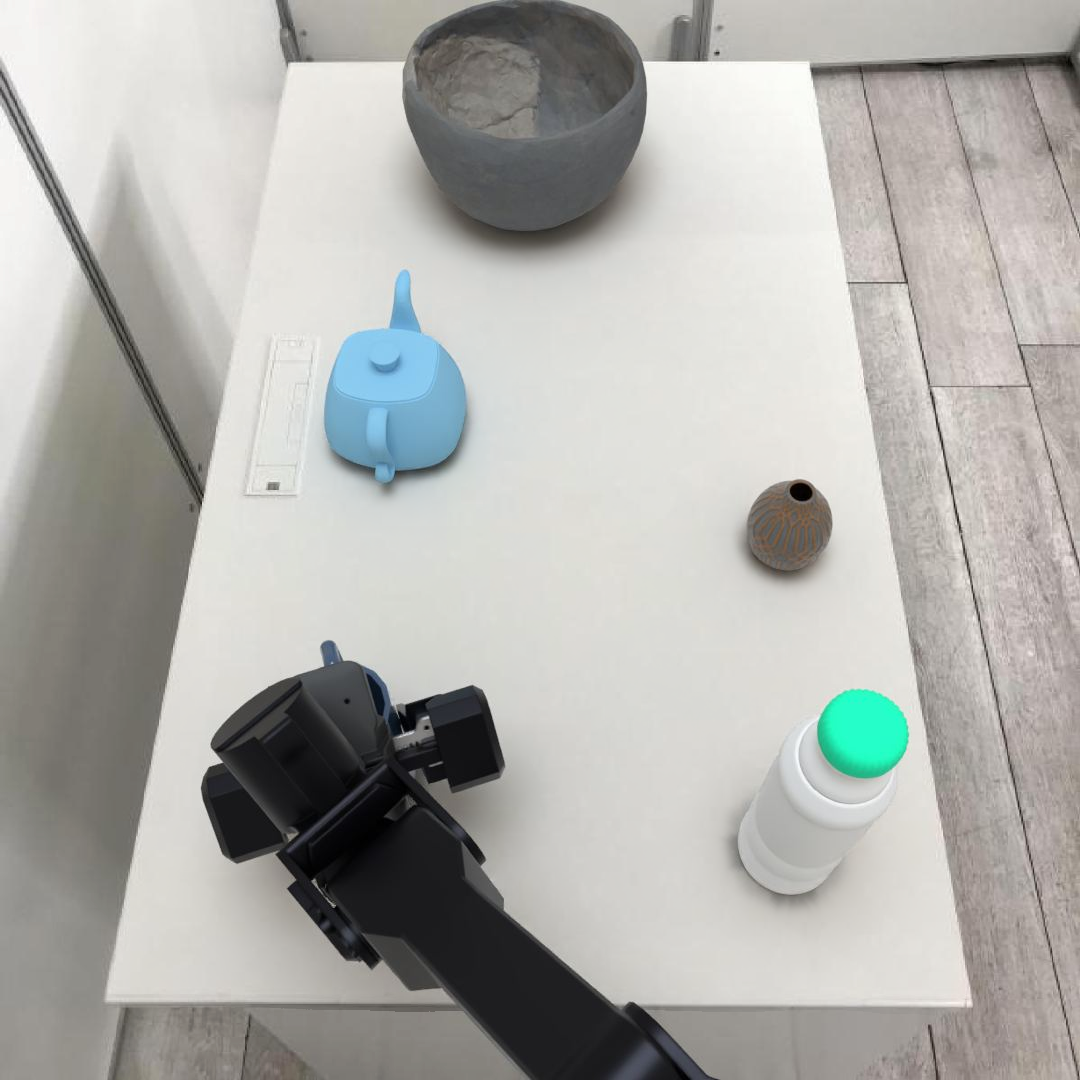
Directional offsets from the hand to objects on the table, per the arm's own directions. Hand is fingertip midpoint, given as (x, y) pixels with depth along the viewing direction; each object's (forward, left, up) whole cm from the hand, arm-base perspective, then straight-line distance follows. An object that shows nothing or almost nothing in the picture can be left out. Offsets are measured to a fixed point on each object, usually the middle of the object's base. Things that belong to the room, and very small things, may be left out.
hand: (351, 725), depth 77 cm
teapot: (+33, -4, -7) cm, 34 cm away
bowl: (+63, -19, -7) cm, 66 cm away
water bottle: (-11, -31, -7) cm, 33 cm away
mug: (0, 0, -7) cm, 7 cm away
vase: (+15, -36, -7) cm, 40 cm away
